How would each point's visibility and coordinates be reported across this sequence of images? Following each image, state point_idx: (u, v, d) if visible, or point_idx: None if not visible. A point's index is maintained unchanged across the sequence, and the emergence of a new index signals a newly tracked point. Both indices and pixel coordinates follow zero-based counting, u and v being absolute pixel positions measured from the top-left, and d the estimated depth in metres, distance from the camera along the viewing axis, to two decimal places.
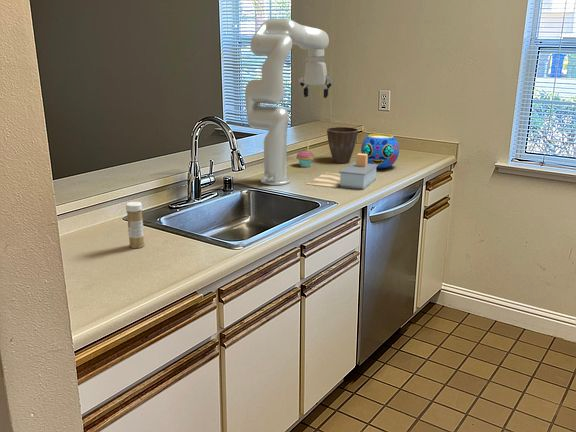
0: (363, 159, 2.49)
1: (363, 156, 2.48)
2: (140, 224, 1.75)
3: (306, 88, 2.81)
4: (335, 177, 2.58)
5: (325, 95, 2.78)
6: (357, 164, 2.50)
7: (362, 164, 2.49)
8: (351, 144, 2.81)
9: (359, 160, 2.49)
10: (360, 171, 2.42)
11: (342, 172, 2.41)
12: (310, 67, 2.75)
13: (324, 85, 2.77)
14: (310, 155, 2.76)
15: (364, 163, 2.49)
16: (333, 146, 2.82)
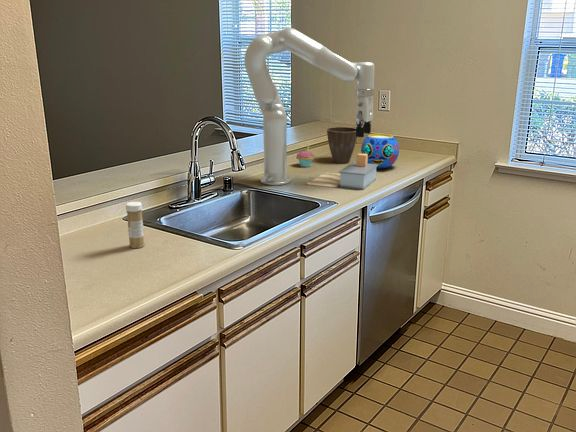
0: (363, 159, 2.49)
1: (363, 156, 2.48)
2: (140, 224, 1.75)
3: None
4: (335, 177, 2.58)
5: None
6: (357, 164, 2.50)
7: (362, 164, 2.49)
8: (351, 144, 2.81)
9: (359, 160, 2.49)
10: (360, 171, 2.42)
11: (342, 172, 2.41)
12: (369, 101, 2.40)
13: None
14: (310, 155, 2.76)
15: (364, 163, 2.49)
16: (333, 146, 2.82)
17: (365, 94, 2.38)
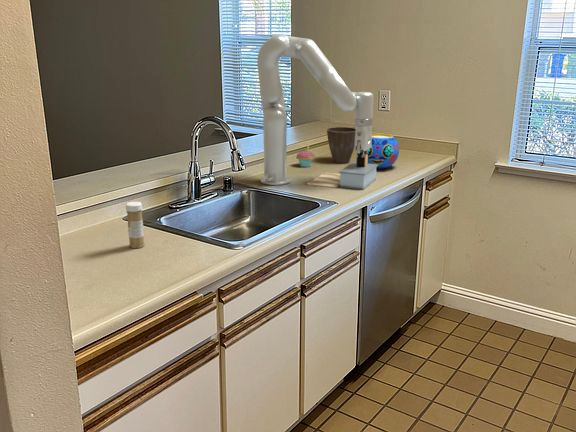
0: None
1: None
2: (140, 224, 1.75)
3: None
4: (335, 177, 2.58)
5: None
6: None
7: None
8: (351, 144, 2.81)
9: None
10: (360, 171, 2.42)
11: (342, 172, 2.41)
12: (368, 130, 2.44)
13: None
14: (310, 155, 2.76)
15: (364, 163, 2.49)
16: (333, 146, 2.82)
17: (364, 124, 2.42)
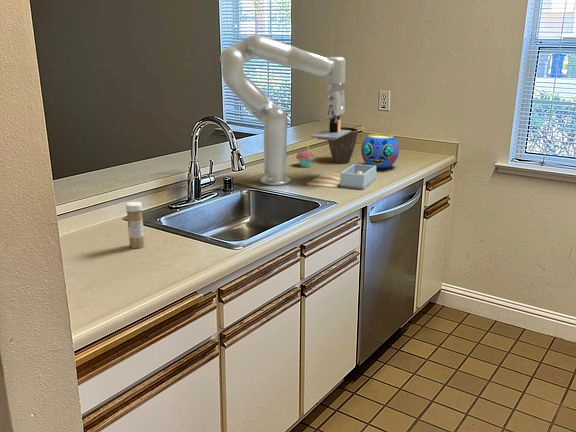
0: None
1: None
2: (140, 224, 1.75)
3: None
4: (335, 177, 2.58)
5: None
6: None
7: None
8: (351, 144, 2.81)
9: None
10: (332, 135, 2.42)
11: (314, 136, 2.42)
12: (340, 95, 2.45)
13: (340, 116, 2.52)
14: (310, 155, 2.76)
15: (337, 128, 2.50)
16: (333, 146, 2.82)
17: (336, 88, 2.43)
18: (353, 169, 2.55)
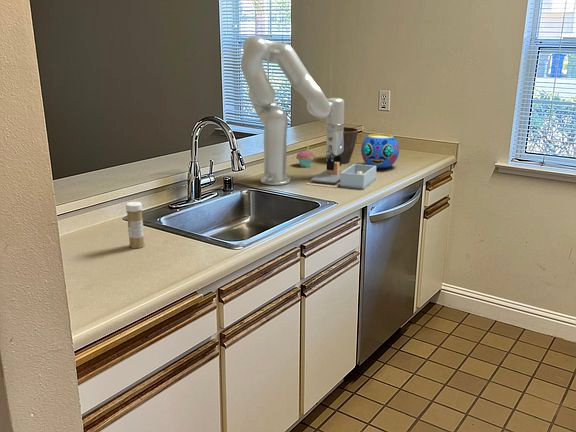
0: (335, 167, 2.55)
1: (335, 164, 2.55)
2: (140, 224, 1.75)
3: None
4: None
5: None
6: (329, 172, 2.57)
7: (334, 172, 2.56)
8: (351, 144, 2.81)
9: None
10: (331, 179, 2.48)
11: (313, 180, 2.48)
12: (339, 136, 2.50)
13: None
14: (310, 155, 2.76)
15: (336, 171, 2.55)
16: None
17: (335, 129, 2.48)
18: (353, 169, 2.55)
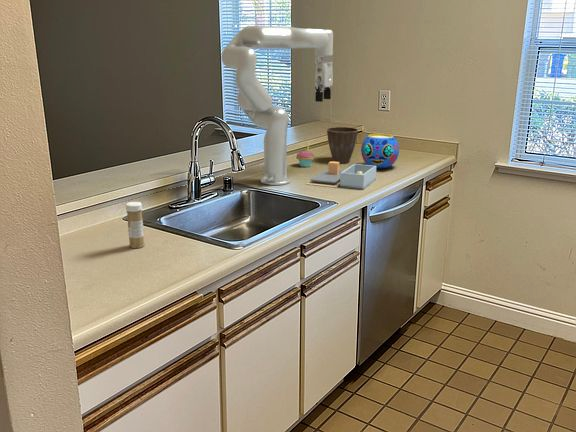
0: (335, 167, 2.55)
1: (335, 164, 2.55)
2: (140, 224, 1.75)
3: None
4: None
5: None
6: (329, 172, 2.57)
7: (334, 172, 2.56)
8: (351, 144, 2.81)
9: (331, 168, 2.56)
10: (331, 179, 2.48)
11: (313, 180, 2.48)
12: (328, 67, 2.52)
13: (330, 86, 2.60)
14: (310, 155, 2.76)
15: (336, 171, 2.55)
16: (333, 146, 2.82)
17: (324, 60, 2.50)
18: (353, 169, 2.55)
